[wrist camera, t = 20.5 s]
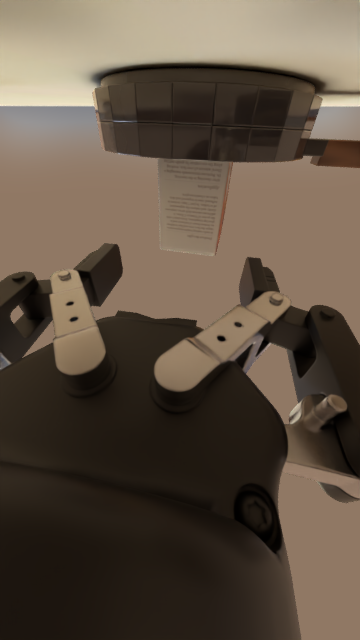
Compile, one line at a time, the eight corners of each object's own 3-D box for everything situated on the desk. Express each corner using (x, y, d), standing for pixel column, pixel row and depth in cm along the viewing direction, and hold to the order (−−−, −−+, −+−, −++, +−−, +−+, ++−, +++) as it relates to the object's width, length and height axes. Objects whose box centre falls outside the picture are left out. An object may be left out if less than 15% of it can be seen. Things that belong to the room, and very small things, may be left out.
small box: (242, 105, 18) (222, 229, 25) (180, 104, 19) (177, 224, 26) (243, 93, 12) (216, 258, 19) (153, 91, 13) (159, 250, 20)
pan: (134, 99, 22) (137, 142, 24) (32, 62, 10) (58, 153, 13) (291, 104, 20) (278, 149, 23) (384, 67, 9) (338, 168, 11)
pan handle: (293, 137, 17) (286, 161, 18) (301, 138, 15) (293, 164, 16) (423, 143, 16) (407, 168, 17) (447, 144, 15) (427, 172, 16)
